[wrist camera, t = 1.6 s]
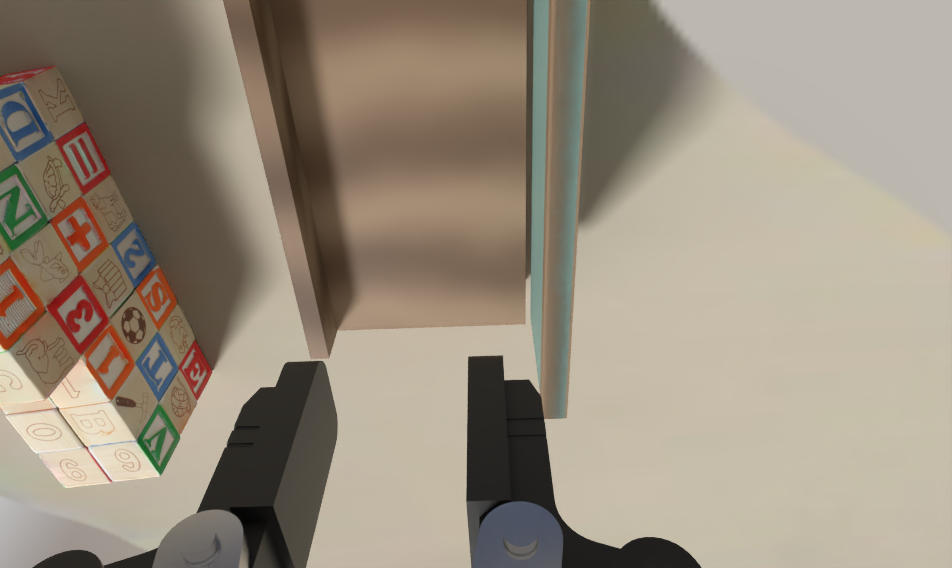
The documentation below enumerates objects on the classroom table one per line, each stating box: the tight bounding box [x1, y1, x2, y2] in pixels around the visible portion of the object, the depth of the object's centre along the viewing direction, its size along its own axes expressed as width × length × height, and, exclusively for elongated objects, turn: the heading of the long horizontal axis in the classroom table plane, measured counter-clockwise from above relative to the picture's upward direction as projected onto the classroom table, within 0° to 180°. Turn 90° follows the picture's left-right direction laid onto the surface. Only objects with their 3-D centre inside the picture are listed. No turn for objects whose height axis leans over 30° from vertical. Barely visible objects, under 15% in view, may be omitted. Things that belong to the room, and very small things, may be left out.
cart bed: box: [223, 0, 527, 359], centre depth 31 cm, size 22×12×6 cm, turn 2°
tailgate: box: [531, 0, 591, 419], centre depth 27 cm, size 21×1×8 cm, turn 2°
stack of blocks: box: [0, 66, 212, 488], centre depth 33 cm, size 21×6×12 cm, turn 9°
